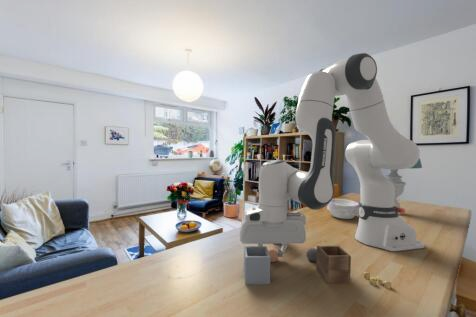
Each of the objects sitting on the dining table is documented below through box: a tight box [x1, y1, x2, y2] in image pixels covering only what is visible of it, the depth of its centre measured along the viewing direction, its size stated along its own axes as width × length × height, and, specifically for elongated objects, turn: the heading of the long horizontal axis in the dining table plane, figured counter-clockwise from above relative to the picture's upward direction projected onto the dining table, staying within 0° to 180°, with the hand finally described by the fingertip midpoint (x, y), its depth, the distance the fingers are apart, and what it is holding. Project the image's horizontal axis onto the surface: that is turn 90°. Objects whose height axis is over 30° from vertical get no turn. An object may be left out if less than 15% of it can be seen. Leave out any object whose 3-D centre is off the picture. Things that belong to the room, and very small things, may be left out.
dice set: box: [363, 271, 392, 290], centre depth 59 cm, size 5×5×2 cm
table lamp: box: [385, 157, 423, 216], centre depth 125 cm, size 24×24×40 cm
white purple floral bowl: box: [326, 198, 359, 220], centre depth 117 cm, size 15×15×8 cm
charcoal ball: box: [306, 247, 317, 263], centre depth 70 cm, size 4×4×4 cm
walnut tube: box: [316, 245, 352, 284], centre depth 61 cm, size 6×6×7 cm
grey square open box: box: [243, 245, 271, 285], centre depth 60 cm, size 6×6×7 cm
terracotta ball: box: [267, 248, 280, 263], centre depth 70 cm, size 4×4×4 cm
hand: (272, 256), depth 70 cm, fingers closed on terracotta ball, 4 cm apart
